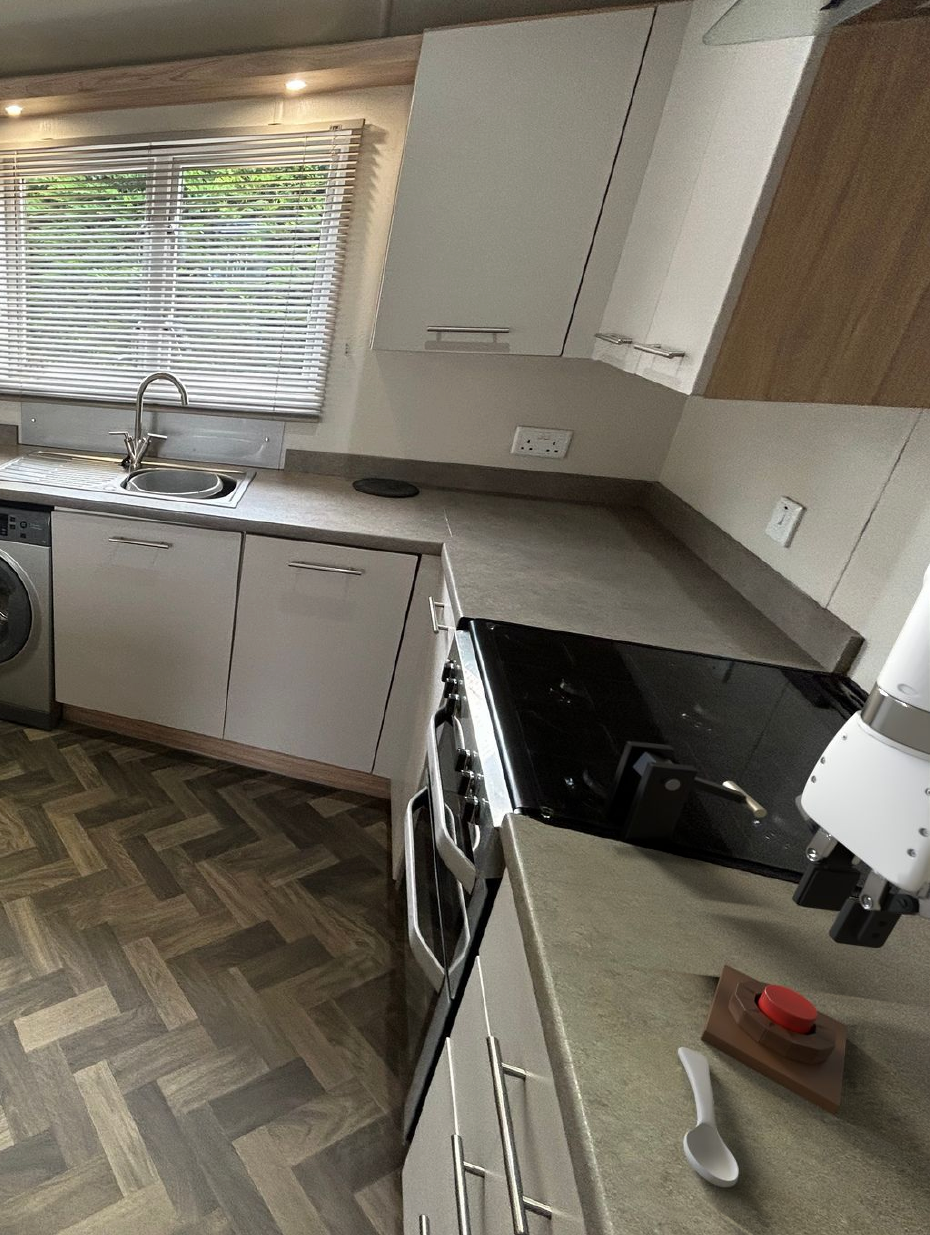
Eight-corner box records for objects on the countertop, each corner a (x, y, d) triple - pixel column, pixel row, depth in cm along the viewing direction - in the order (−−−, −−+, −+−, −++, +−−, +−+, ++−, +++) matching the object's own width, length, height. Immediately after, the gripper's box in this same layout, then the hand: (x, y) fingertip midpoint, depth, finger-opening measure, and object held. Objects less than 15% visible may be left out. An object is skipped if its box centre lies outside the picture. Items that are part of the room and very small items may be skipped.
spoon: (682, 1177, 50) (692, 1157, 50) (665, 1052, 60) (672, 1034, 59) (737, 1206, 49) (748, 1186, 48) (711, 1073, 58) (719, 1055, 57)
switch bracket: (657, 819, 86) (690, 738, 82) (707, 873, 78) (746, 786, 73) (559, 808, 88) (586, 728, 83) (598, 859, 79) (630, 774, 75)
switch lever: (726, 794, 81) (740, 778, 80) (758, 823, 77) (773, 807, 76) (625, 759, 82) (637, 743, 81) (650, 786, 77) (664, 769, 76)
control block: (719, 972, 66) (731, 949, 65) (841, 1035, 60) (856, 1010, 59) (700, 1039, 60) (712, 1015, 59) (833, 1116, 54) (850, 1090, 53)
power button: (759, 991, 61) (767, 977, 61) (811, 1018, 59) (819, 1003, 58) (754, 1014, 59) (762, 999, 59) (807, 1042, 57) (816, 1027, 56)
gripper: (1158, 809, 41) (999, 1029, 47) (897, 675, 56) (805, 856, 62) (1004, 793, 42) (870, 1010, 48) (789, 666, 57) (710, 845, 63)
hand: (834, 922), depth 55 cm, fingers closed
